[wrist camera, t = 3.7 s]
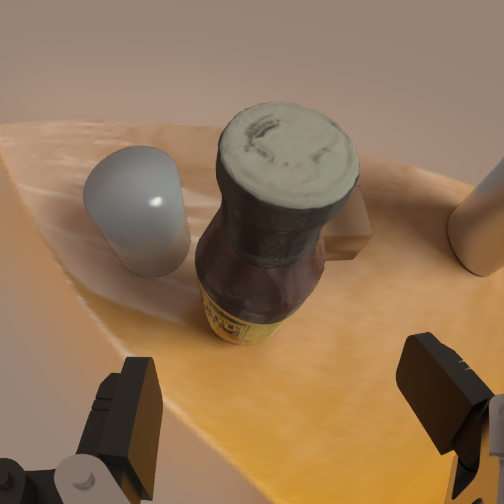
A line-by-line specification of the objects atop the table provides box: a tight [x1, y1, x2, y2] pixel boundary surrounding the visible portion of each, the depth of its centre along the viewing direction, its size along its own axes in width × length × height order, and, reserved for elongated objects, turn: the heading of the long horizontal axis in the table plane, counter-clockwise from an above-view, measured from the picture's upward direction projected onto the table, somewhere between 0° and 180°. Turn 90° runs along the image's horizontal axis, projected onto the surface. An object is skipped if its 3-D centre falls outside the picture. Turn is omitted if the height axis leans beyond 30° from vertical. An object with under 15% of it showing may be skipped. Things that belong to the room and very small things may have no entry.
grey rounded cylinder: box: [83, 146, 191, 278], centre depth 24 cm, size 7×7×9 cm
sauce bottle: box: [195, 102, 359, 346], centre depth 17 cm, size 7×6×20 cm
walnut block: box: [321, 185, 373, 261], centre depth 28 cm, size 5×5×5 cm
